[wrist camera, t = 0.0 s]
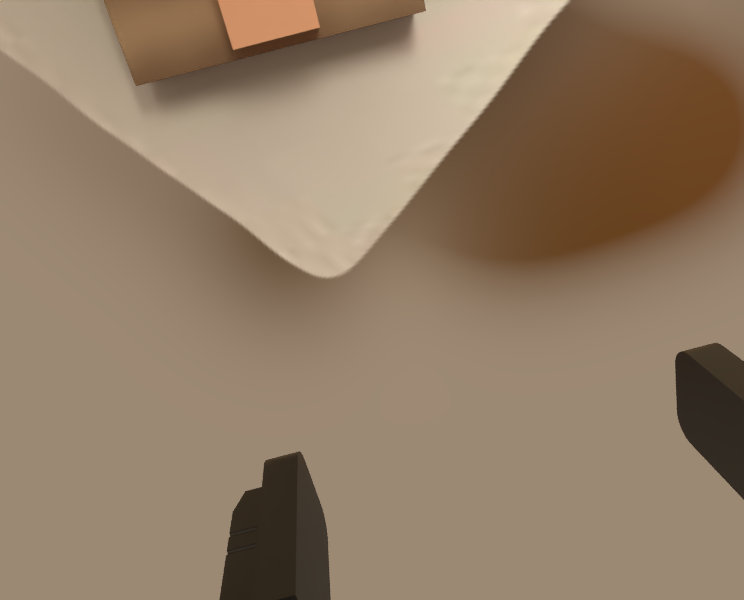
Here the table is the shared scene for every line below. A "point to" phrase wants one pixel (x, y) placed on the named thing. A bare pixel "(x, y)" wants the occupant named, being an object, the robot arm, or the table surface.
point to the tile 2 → (266, 19)
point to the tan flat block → (221, 31)
